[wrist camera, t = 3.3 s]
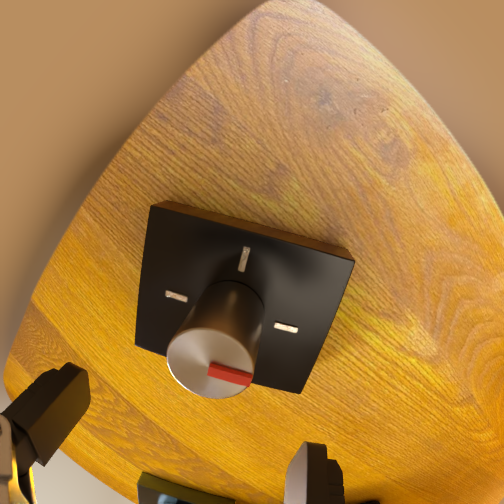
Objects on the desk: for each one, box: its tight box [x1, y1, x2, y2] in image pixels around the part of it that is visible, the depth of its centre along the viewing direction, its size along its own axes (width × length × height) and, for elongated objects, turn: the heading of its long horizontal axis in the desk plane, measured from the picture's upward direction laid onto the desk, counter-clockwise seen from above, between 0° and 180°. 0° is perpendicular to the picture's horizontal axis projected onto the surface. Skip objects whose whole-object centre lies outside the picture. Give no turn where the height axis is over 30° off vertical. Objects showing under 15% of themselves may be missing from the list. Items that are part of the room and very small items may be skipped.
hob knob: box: [167, 281, 264, 399], centre depth 15 cm, size 4×4×6 cm
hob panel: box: [135, 200, 355, 394], centre depth 19 cm, size 12×10×3 cm
